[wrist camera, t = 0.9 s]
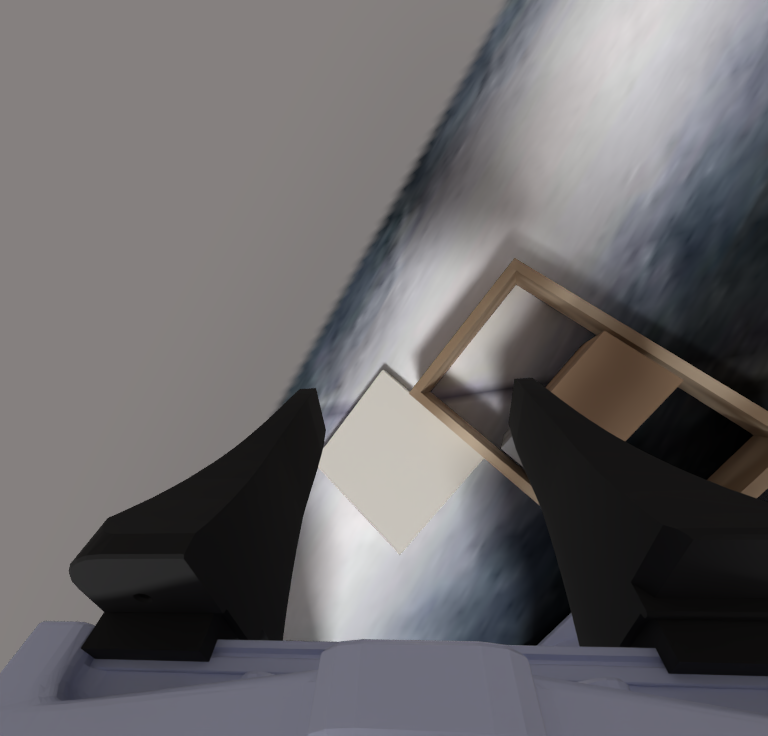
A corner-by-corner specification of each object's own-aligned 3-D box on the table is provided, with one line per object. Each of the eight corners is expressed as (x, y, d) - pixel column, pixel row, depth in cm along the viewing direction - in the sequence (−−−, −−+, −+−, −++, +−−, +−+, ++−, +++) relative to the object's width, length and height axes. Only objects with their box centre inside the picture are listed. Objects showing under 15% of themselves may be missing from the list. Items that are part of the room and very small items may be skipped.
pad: (485, 455, 24) (485, 457, 24) (402, 551, 26) (399, 555, 26) (385, 370, 28) (382, 369, 27) (316, 460, 29) (313, 462, 29)
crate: (773, 434, 19) (818, 442, 16) (629, 570, 21) (647, 597, 18) (514, 272, 24) (514, 257, 22) (419, 392, 26) (408, 393, 24)
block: (639, 382, 21) (684, 380, 16) (553, 475, 23) (566, 502, 17) (582, 344, 23) (604, 330, 17) (503, 434, 24) (500, 448, 18)
